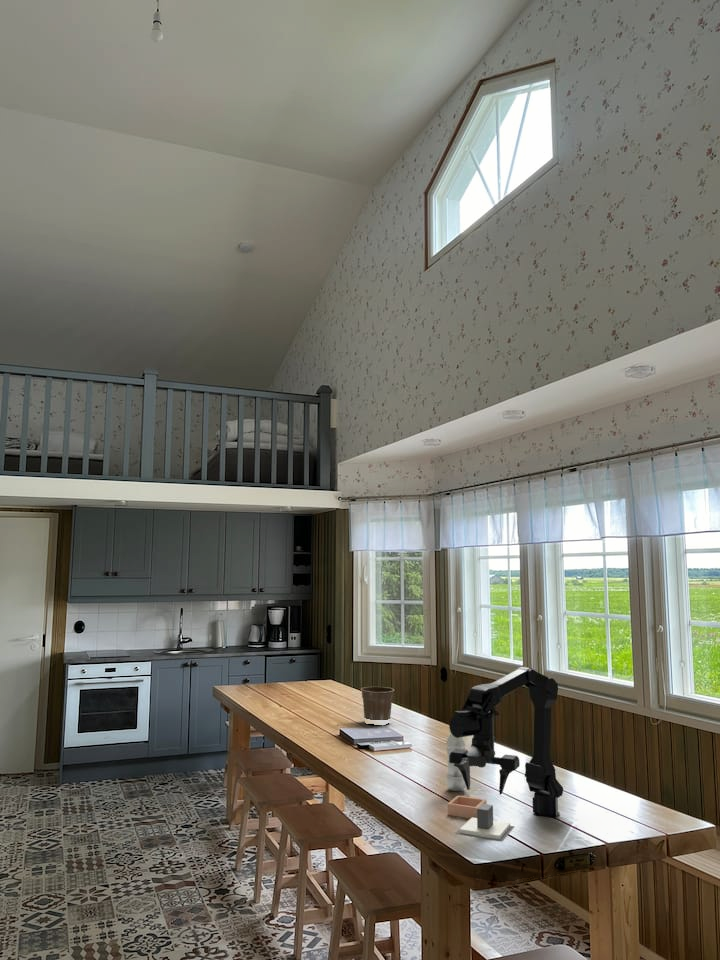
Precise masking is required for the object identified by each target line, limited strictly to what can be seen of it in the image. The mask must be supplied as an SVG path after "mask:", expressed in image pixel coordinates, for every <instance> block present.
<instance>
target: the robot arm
mask: <svg viewBox="0 0 720 960" xmlns="http://www.w3.org/2000/svg"><path fill="white" fill-rule="evenodd" d="M523 686H524V687H525V688H527V689H528V695H529V699H530V701H531V703H532V705H533V735H532V736H533V737H532V739H533V741H532V758H531V759H530V761H528V762H526V763H525V765H524V766H525V771H524V772H525V773H524V777H525V780H526V781H525V782H526V783H527V785H528V788H529V792H533V793H534V796H533V797H532V815H533V816H536V817H543V818H549V819H550V818H551V819H556V818H558V817H559V815H560V814H561V813H560V811H559V799H560V797H562V796H563V792H564V787H563V785H561V783H560V782H559V780H557V776H556V768H555V766H554V764H553V762H552V760H551V742H552V741H551V740H552V739H551V737H552V736H551V733H552V708H553V706H554V705H555V703H556V702H557V700H558V691H559V684H558V682H556V679H554V678H553V677H548V676H546V675H544V674H542V673H540V672H537V671H536V670H535V669H533V668H531V667H526V666H524V667H523V666H521V667H517V668H516V669H515V670H514V671H512V672H510V673H508V674H506V675H504V676H503V677H501V678H499V679H497V680H495V681H493V682H491V683H481V684H478V685H475V686H472V687H471V688H470V690H469V693H468V695H467V698H466V700H465V701H464V704H463V706H462V708H461V710H455V711H454V713H453V714H454V715H453V716H452V717H451V719H449V720H450V721H449V725H448V726H449V727H448V728H449V732H450V731H451V733H452V735H453V736H454V737H456V738H460V737H462V738H466V737H472V738H471V745H470V747H469V749H468V750H467V749H465V750H462V749H455V750H454V751H452V752H451V753H450V755H449V763H454V766H455V767H458V769H459V770H460V771H461V774H462V776H463V779H464V782H465V788H466V790H467V791H470V789H471V770H470V769H471V767H479V768H481V769H482V768H484V767H486V764H488V765H489V764H491V765H496V766H497V765H498V766H499V767H500V768H501V769H499V787H498V789H499V790H498V791H499V792H498V793H499V795H502V794H503V793H504V789H505V786H506V783H507V780H508V777H509V775H510V774H511V773H512V772H513V771H514V772H515V771H516V770H517V769H518V768H519V767H520V764H521V763H520V758H519V756H518V755H515V754H514V755H513V754H512V755H511V754H504V755H503V756H501V757H498V756H496V751H495V740H496V736H495V729H494V728H495V726H494V725H495V724H494V722H495V721H494V719H495V718H494V717H497V716H498V717H499V716H500V713H499V712H498V711H497V710H496V709H495V707H497V706H499V704H500V703H502V702H501V701H502V698H503V697H506V696H507V695H510V694H511V693H512V692H514V691H516V690H518V689H519V688H522V687H523ZM558 798H559V799H558Z"/></svg>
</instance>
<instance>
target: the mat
mask: <svg viewBox="0 0 720 960" xmlns="http://www.w3.org/2000/svg"><path fill="white" fill-rule="evenodd" d="M465 824H466V823H464V824H463V825H465ZM513 829H515V826H514V825H513V826H512V825H510V828H509V829H508V830H507V831H506V833H505V834H504V835H503V836H502V837H501V839H500V840H499V839H493V838H487V837H481V836H475V835H469V834H463V833H460V828H459V829H458V830H457V831H456V832H455V834H456V835H461V836H467V837H473V838H474V837H475V838H479V839H485V840H490V841H496V842H503V841H504V840H505V839H506V838H507V837H508V836H509V834H510V833H511V832H512V831H513ZM455 834H454V835H455Z"/></svg>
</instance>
